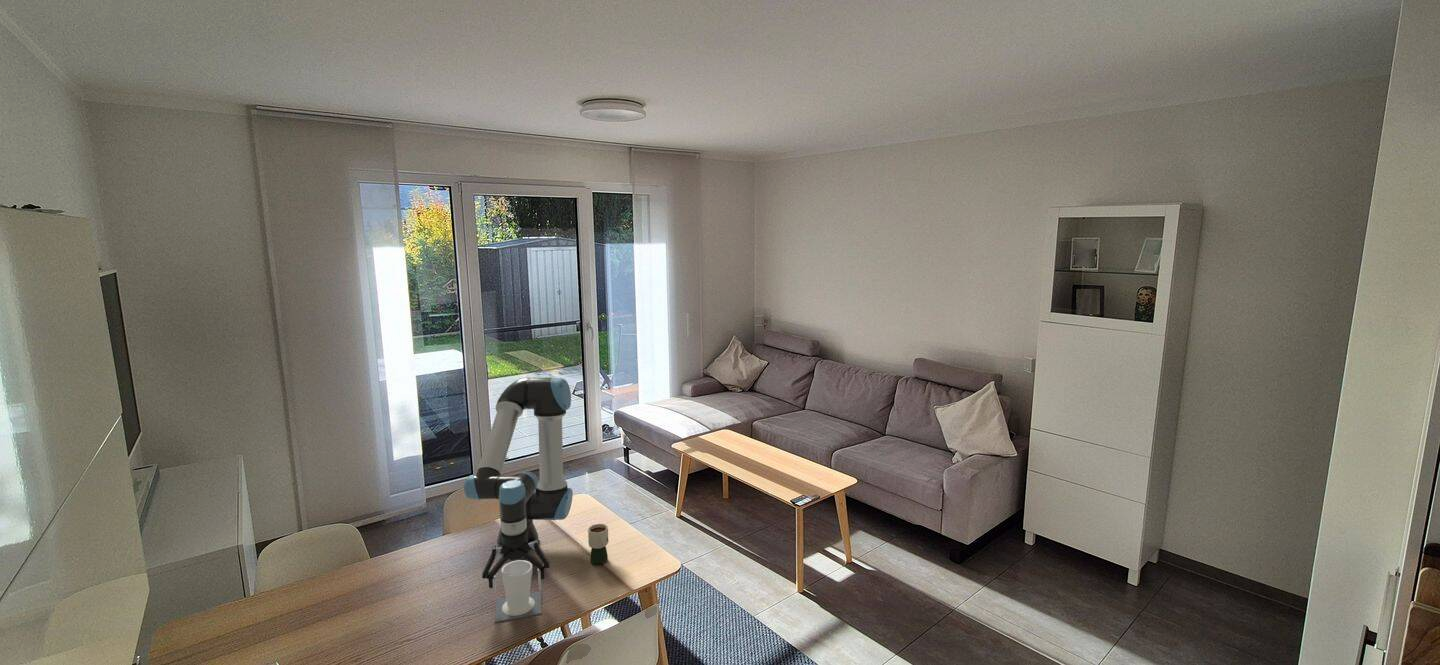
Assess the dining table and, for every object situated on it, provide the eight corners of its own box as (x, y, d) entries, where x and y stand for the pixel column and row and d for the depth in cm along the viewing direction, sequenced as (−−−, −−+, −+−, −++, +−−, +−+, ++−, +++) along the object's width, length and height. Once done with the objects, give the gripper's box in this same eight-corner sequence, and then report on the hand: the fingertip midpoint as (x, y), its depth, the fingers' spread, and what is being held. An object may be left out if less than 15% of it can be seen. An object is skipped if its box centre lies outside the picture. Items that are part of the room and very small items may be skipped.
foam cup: (524, 616, 188) (522, 578, 186) (497, 612, 190) (495, 574, 188) (538, 598, 197) (537, 562, 195) (512, 594, 199) (511, 558, 197)
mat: (495, 599, 197) (495, 598, 197) (540, 592, 202) (540, 590, 202) (494, 622, 186) (494, 621, 186) (542, 613, 190) (541, 612, 190)
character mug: (613, 565, 217) (612, 532, 215) (594, 571, 214) (593, 537, 212) (603, 551, 227) (602, 519, 224) (585, 556, 223) (584, 523, 221)
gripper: (470, 542, 182) (475, 606, 185) (556, 530, 189) (558, 591, 193) (472, 530, 189) (476, 592, 192) (554, 519, 196) (557, 578, 200)
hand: (517, 592), depth 193 cm, fingers open, 13 cm apart
